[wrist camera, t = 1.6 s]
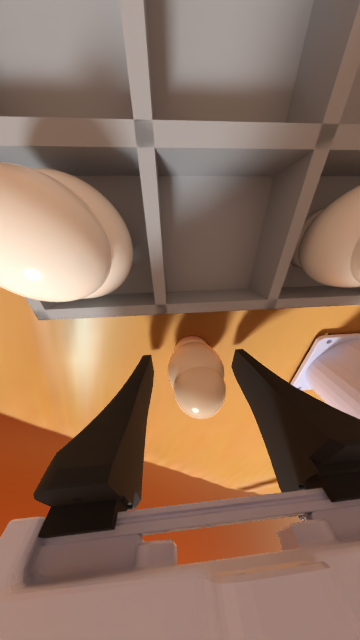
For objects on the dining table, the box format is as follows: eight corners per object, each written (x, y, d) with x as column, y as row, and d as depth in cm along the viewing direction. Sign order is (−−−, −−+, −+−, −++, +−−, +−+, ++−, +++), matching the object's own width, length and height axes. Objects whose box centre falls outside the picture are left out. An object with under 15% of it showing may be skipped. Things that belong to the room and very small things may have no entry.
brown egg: (216, 328, 12) (249, 388, 7) (211, 364, 14) (234, 430, 9) (166, 331, 12) (164, 395, 7) (169, 367, 14) (169, 436, 9)
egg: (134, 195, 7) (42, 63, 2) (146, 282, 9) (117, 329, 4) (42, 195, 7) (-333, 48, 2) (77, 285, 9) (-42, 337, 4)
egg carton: (540, -119, 4) (1013, -583, 2) (327, 290, 11) (373, 303, 8) (-151, -207, 3) (-1000, -1404, 1) (71, 301, 10) (38, 320, 7)
